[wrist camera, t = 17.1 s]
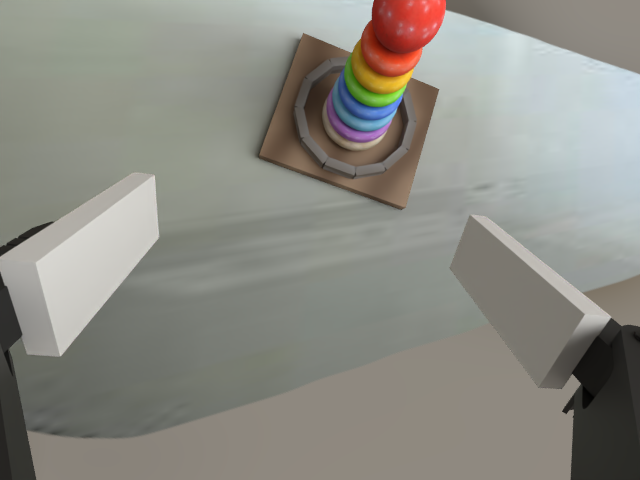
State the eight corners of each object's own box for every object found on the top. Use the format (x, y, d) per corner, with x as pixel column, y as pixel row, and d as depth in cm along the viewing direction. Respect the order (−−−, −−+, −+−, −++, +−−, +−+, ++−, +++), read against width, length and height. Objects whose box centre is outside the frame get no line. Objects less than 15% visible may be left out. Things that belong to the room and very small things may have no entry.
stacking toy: (393, 102, 41) (496, -39, 22) (375, 162, 40) (469, 65, 21) (332, 79, 40) (387, -89, 22) (312, 139, 39) (353, 17, 20)
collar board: (259, 158, 39) (258, 149, 36) (302, 40, 41) (304, 23, 39) (401, 209, 41) (410, 205, 38) (434, 94, 43) (445, 82, 41)
